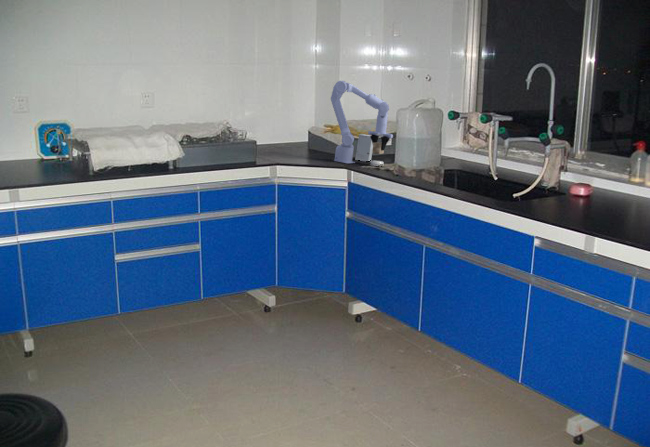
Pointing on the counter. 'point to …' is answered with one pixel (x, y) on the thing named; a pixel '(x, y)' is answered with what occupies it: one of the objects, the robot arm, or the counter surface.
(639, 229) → the counter surface
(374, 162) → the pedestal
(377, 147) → the beech block
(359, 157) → the skincare box
